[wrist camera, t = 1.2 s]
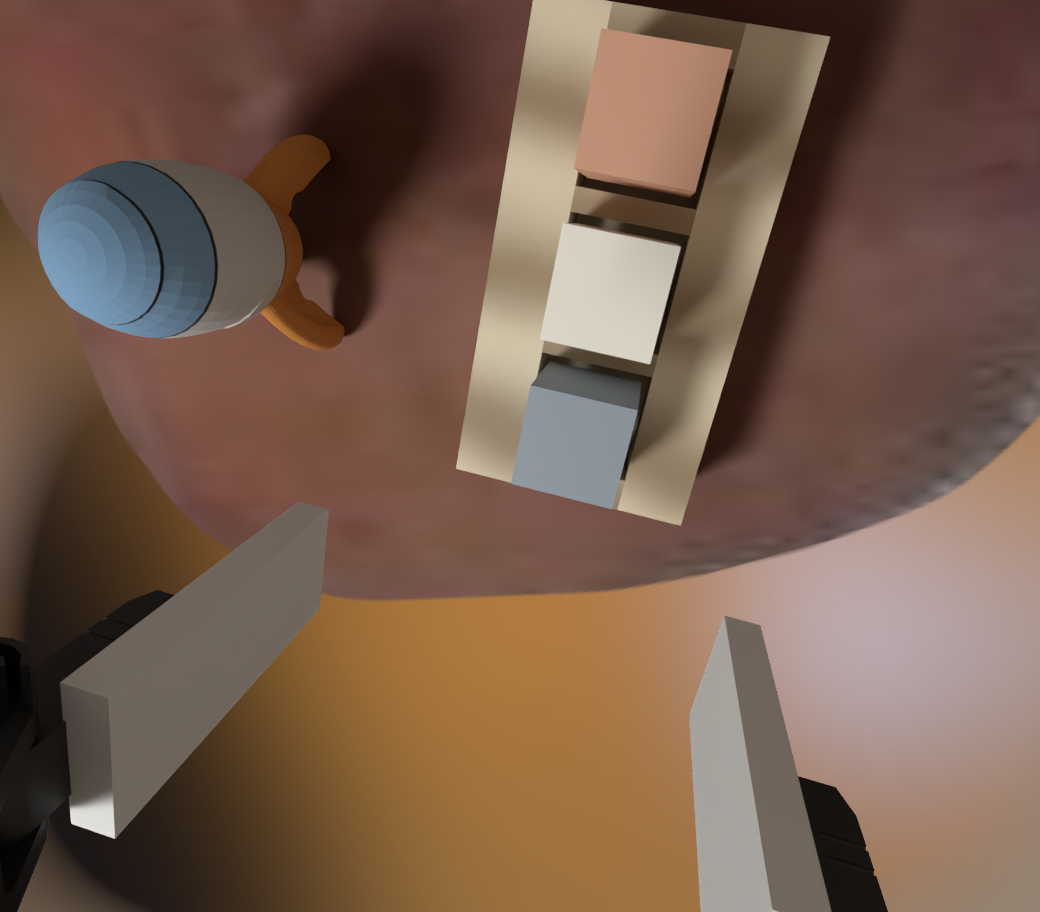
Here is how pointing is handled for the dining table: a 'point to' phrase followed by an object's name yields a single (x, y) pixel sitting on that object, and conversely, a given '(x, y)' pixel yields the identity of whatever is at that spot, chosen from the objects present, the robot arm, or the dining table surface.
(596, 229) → the key ivory
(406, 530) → the dining table surface
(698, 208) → the beige cube tray
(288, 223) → the toy rocket
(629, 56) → the key terracotta
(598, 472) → the grey block
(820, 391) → the dining table surface
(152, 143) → the dining table surface
